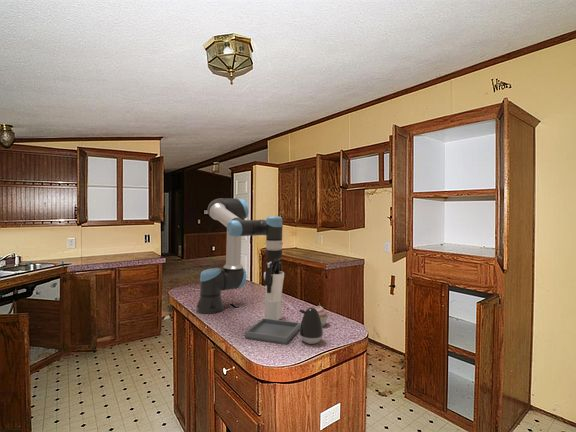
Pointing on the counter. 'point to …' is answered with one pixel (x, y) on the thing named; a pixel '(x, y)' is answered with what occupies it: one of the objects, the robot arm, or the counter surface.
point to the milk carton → (273, 309)
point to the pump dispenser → (311, 326)
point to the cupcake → (322, 314)
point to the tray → (273, 331)
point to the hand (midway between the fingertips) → (273, 296)
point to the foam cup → (276, 286)
